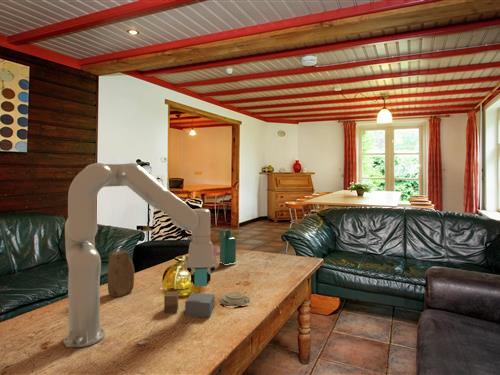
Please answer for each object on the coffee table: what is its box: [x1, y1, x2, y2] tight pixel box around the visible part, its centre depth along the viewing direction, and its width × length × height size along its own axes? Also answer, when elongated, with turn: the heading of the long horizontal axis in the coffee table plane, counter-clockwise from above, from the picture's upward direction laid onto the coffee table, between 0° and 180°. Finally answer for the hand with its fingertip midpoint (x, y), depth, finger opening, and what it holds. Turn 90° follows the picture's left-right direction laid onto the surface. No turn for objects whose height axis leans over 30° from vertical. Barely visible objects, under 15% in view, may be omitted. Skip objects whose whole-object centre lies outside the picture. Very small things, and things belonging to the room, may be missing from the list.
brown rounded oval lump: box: [107, 249, 135, 298], centre depth 155 cm, size 11×8×20 cm
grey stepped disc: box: [218, 291, 251, 307], centre depth 147 cm, size 15×4×15 cm
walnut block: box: [163, 291, 179, 314], centre depth 136 cm, size 5×5×7 cm
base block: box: [184, 292, 216, 318], centre depth 136 cm, size 10×10×6 cm
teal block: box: [193, 268, 208, 287], centre depth 135 cm, size 5×5×7 cm
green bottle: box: [218, 229, 237, 264], centre depth 209 cm, size 10×8×22 cm
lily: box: [213, 244, 220, 261], centre depth 219 cm, size 12×12×10 cm
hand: (201, 282), depth 135 cm, fingers closed on teal block, 5 cm apart
